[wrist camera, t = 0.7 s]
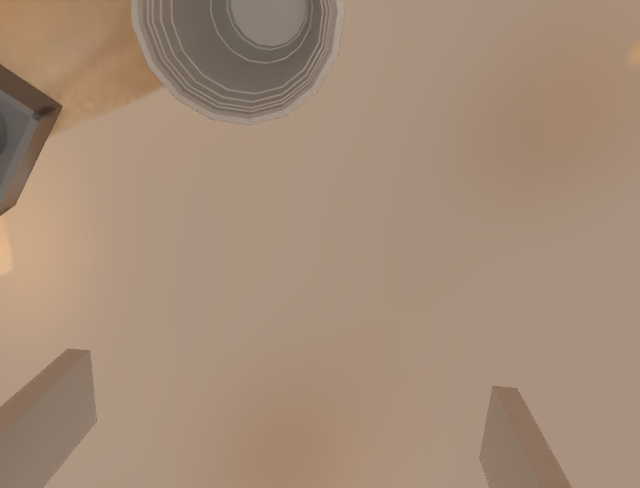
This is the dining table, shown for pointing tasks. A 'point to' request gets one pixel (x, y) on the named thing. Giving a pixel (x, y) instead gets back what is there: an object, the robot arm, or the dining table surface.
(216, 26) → the plastic cup
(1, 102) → the shaker caddy
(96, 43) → the dining table surface
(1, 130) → the salt shaker
